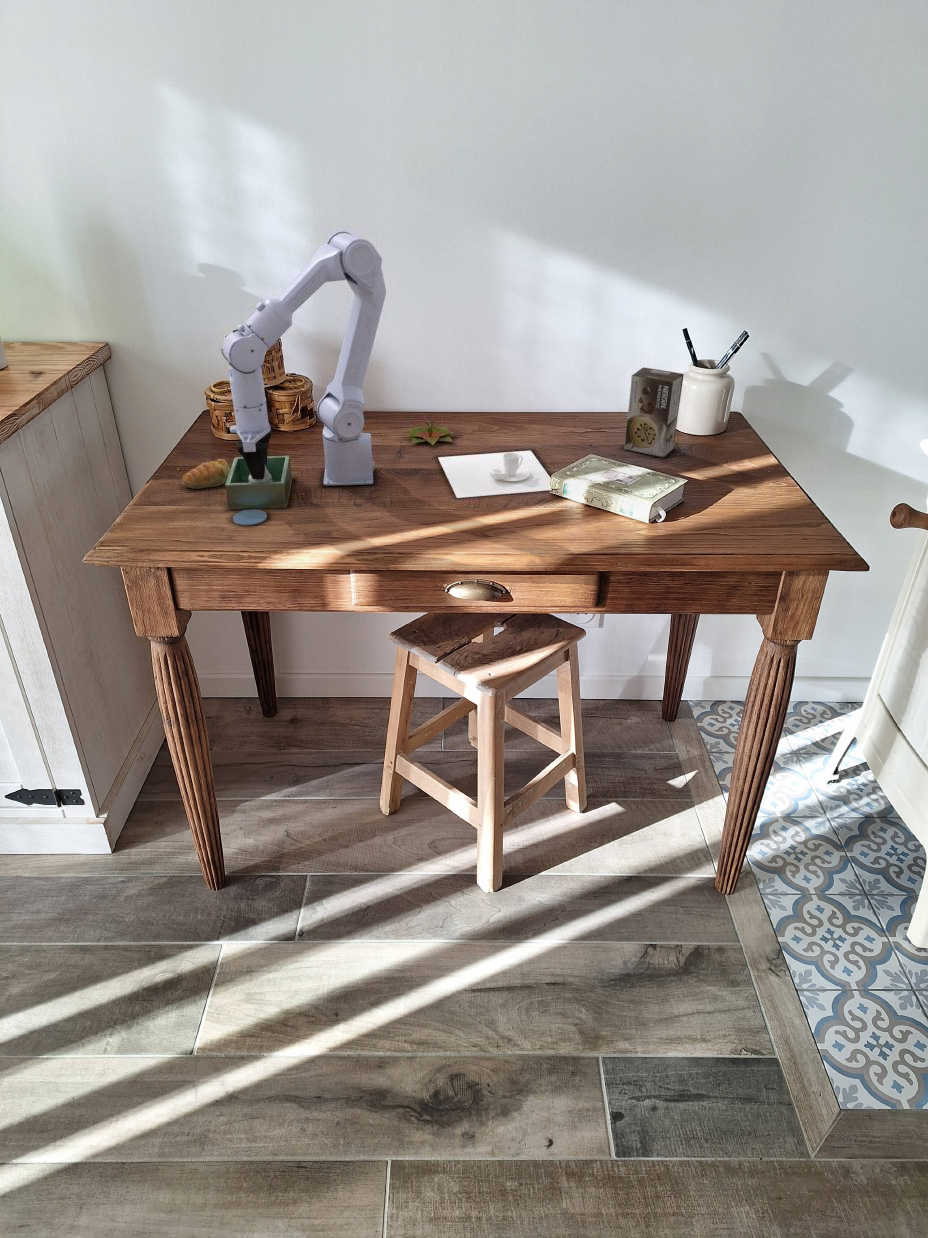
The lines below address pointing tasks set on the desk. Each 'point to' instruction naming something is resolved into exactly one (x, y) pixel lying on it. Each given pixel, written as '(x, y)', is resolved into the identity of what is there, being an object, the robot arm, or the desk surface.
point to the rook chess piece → (266, 479)
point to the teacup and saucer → (495, 474)
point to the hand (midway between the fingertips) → (259, 473)
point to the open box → (259, 485)
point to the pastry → (207, 475)
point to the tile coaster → (250, 517)
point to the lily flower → (430, 433)
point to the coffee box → (653, 411)
